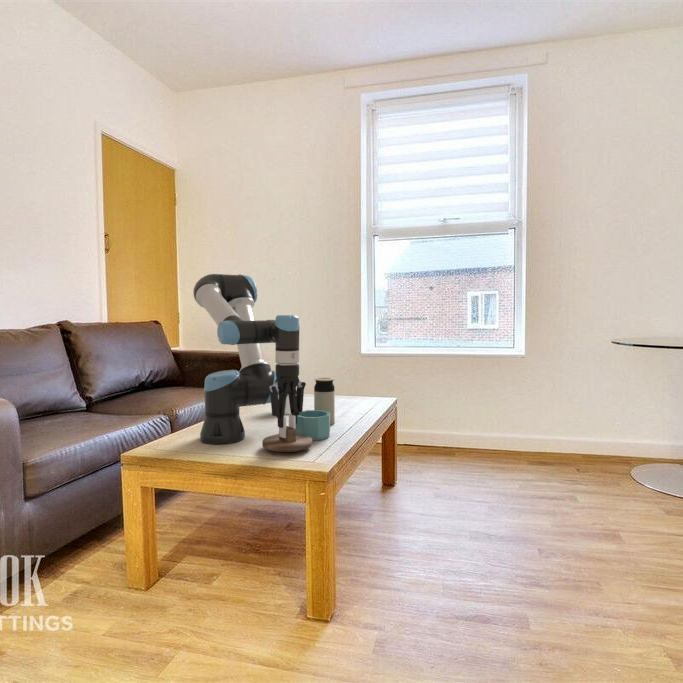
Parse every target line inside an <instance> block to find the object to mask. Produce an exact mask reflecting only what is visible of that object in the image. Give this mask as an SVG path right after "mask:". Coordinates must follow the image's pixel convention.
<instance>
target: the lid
mask: <svg viewBox="0 0 683 683" xmlns="http://www.w3.org/2000/svg"><path fill="white" fill-rule="evenodd" d="M261 442H262V447H263V448H264V449H266V450H269V451H272V452H273V451H274V452H279V453H286V452H287V453H291V452H299V451H303V450H307V449H309V448H310V447H312V446H313V441H312V438H311V437H309V436H306V435H302V434H296V429H295V428H292V427H289V425H286V438H282V437H280V436H279V433H278V434H273V435H269V436H266V437H264V438H263V439H262V441H261Z"/></svg>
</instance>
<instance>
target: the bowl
mask: <svg viewBox="0 0 683 683" xmlns="http://www.w3.org/2000/svg"><path fill="white" fill-rule="evenodd" d="M296 434H302V435H306V436H309V437H311V438H312V442H313V441H314V442H315V441H316V440H317V441H322V440H326V438H327V439H328V437H329V438H330V434H331V425H330V412H326V411H322V410H314V409H313V410H312V409H306V410H302V412H300V414H299V415H298V416H297V424H296ZM317 441H316V442H317Z"/></svg>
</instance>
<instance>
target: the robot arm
mask: <svg viewBox="0 0 683 683" xmlns="http://www.w3.org/2000/svg"><path fill="white" fill-rule="evenodd" d="M257 292H258V287H257V285H256V281H255V280H254V279H253V278H252V277H251V276H250V275H245V274H241V273H240V274H222V273H220V274H219V273H210V274H207V275H204V276H203V277H201V278H199V279H198V281H197V282H196V283H195V285H194V286H193V298H194V300H195V302H196V303H197V305H199V306H200V307H201V308H203V309H205V311H206V312H207V313H208V314H209V316H210V317H211V320H213V322H214V323H215V324H216V325H217V331H216V332H217V338H218V341H219V344H221V345H231V346H235V345H236V347H237V351H238V357H239V361H240V364H241V365H240V366H241V368H240V370H239V371H238V370H237V369H229V370H227V369H226V370H219V371H216V372H215V371H214V372H211V373H209V374H208V375H207V376H206V377H205V379H204V388H203V392H204V420H203V424H202V427H201V429H200V433H199V434H200V435H199V438H200V442H202V443H204V444H208V443H209V444H210V445H224V444H232V443H233V444H234V443H237V442H240V441H242V440H244V439H245V437H246V430H245V427H244V424H243V422H242V419H241V416H240V408H242V407H250V406H258V405H264V406H265V405H266V404H271V405H270V406H271V415H272V416H273V417H276V418H277V428H278V434H279V436H280V437H282V438H286V426H287V417H286V416H285V414H284V413H285V405H286V397H287V396H288V395H289V403H290V411H291V414H288V426H289V427H292V428H295V429H296V424H297V416H298V415H299V414H300V412H302V411H304V409H303V408H304V397H305V394H304V393H305V387H306V385H307V383H306V382H304V381H300V379H299V375H300V364H298V363H300V328H301V326H300V320H299V319H300V318H299V316H298V315H296V314H279V315H276V317H275V319H266V320H256V319H255V316H254V313H253V308H254V306H255V303H256V302H257V300H258V293H257ZM261 344H274V345H275V355H274V356H275V359H274V362H275V364H276V365H275V370H272V368H271V365H270V363H268V362H266V361H265V357H264V353H263V349H262V345H261ZM296 387H297V390H296ZM278 395H279V400H278Z"/></svg>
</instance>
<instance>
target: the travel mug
mask: <svg viewBox="0 0 683 683" xmlns="http://www.w3.org/2000/svg"><path fill="white" fill-rule="evenodd" d="M334 380H335V378H334V377H331V376H320V377H319V376H318V377H315V378H314V381H315V385H314V388H313V396H314V398H313V401H314V403H313V405H314V406H313V407H314V408H313V410H322V411H326V412H330V426H332V425H334V424H335V423H336V421H335V417H336V416H335V411H336V410H335V408H336V407H335V402H336V401H335V398H336V397H335V393H336V392H335V385H334Z"/></svg>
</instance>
